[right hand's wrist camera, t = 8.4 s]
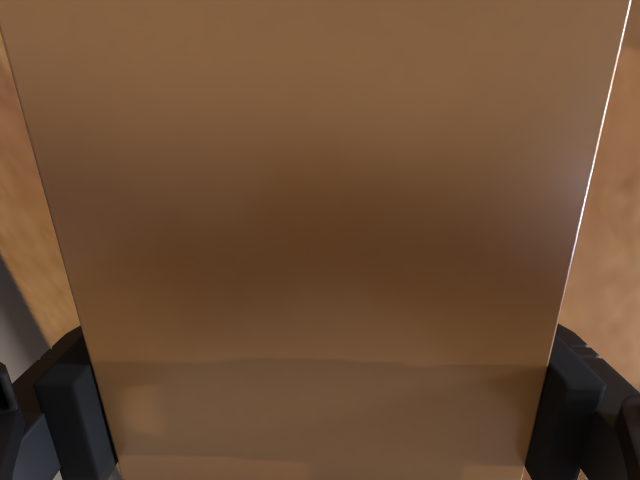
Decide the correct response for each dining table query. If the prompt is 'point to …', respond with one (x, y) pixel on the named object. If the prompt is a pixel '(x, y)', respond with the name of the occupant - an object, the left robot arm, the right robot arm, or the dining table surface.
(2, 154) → the dining table surface
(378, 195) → the wooden beam
